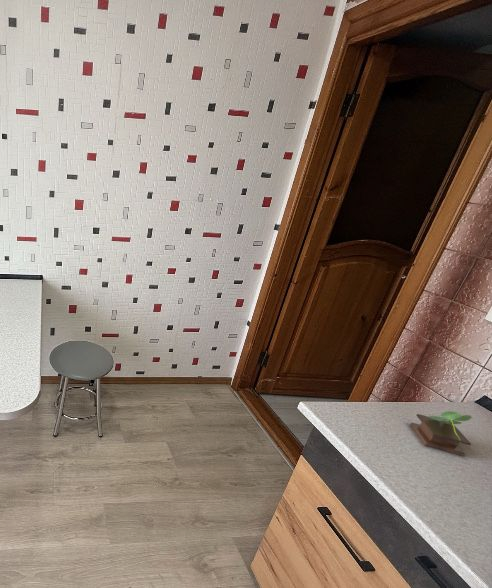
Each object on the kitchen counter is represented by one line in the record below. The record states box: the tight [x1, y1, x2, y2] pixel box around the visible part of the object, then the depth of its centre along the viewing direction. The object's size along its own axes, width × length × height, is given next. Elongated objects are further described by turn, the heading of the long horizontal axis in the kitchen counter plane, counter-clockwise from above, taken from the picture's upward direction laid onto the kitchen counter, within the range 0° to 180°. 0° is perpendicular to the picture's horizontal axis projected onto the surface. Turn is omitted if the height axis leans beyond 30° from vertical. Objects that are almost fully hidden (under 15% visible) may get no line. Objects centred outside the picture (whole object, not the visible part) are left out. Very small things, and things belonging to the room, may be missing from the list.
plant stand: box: [409, 413, 472, 457], centre depth 91 cm, size 8×8×4 cm
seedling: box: [428, 410, 472, 441], centre depth 88 cm, size 7×8×6 cm
